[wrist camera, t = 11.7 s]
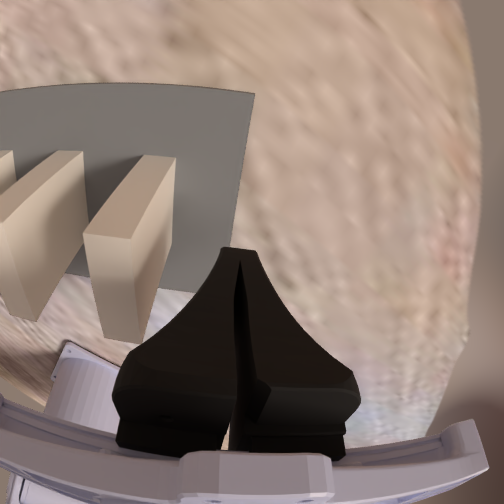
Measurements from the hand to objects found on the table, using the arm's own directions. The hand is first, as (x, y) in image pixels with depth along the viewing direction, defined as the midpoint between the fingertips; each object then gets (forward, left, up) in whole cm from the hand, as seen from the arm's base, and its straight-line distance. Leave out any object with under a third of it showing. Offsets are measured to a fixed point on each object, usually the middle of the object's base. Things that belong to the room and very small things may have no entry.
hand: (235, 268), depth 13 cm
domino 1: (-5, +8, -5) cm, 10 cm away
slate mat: (-7, +12, -5) cm, 15 cm away
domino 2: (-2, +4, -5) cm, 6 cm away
